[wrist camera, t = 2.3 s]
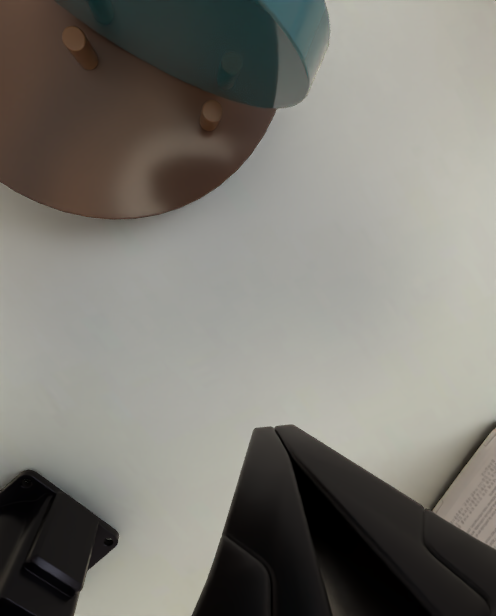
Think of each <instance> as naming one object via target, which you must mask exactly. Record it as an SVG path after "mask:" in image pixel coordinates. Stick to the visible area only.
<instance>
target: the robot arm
mask: <svg viewBox="0 0 496 616" xmlns="http://www.w3.org/2000/svg"><path fill="white" fill-rule="evenodd" d="M24 479H28V480H30V481H31V482H29V483H28V482H26V481H25V480H24ZM107 538H111V540H107ZM118 539H119V533H118V532H117V531H116V530H115V529H114V528H112V527H111V526H110V525H108V524H107V523H105V522H104V521H103V520H101V519H100V518H99V517H97V516H96V515H95V514H93V513H92V512H91V511H89V510H88V509H86V508H85V507H84V506H82V505H81V504H80V503H78V502H77V501H75V500H74V499H73V498H71V497H70V496H69V495H67V494H66V493H64V492H63V491H62V490H60V489H59V488H57V487H56V486H55V485H53V484H52V483H51V482H49V481H48V480H46V479H45V478H44V477H42V476H41V475H40V474H38V473H37V472H35V471H33V470H25V471H23V472H21V473H20V474H19V475H18V476H17V477H16V478H14V479H13V480H12V481H11V482H10V483H9V484H8V485H7V486H5V487H4V488H3V489H2V490H1V491H0V616H74V613H75V609H76V605H77V601H78V597H79V593H80V591H81V590H82V588H83V585H84V581H85V577H86V573H87V571H88V570H89V569H90V568H91V567H92V566H93V565H95V564H96V563H97V562H98V561H99V560H100V559H102V558H103V557H104V556H105V555H106V554H108V553H109V552H110V551H111V550H112V549H113V548H115V547H116V545H117V544H118ZM192 616H496V549H494V548H492V547H491V546H489V545H487V544H485V543H483V542H482V541H480V540H478V539H476V538H475V537H473V536H471V535H470V534H468V533H466V532H465V531H463V530H461V529H460V528H458V527H456V526H455V525H453V524H451V523H450V522H448V521H446V520H445V519H443V518H442V517H440V516H438V515H437V514H435V513H434V512H432V511H430V510H429V509H425V510H424V507H423V506H422V505H421V504H419V503H417V502H416V501H414V500H413V499H411V498H409V497H408V496H406V495H405V494H403V493H401V492H400V491H398V490H397V489H395V488H393V487H392V486H390V485H389V484H387V483H386V482H384V481H382V480H381V479H379V478H378V477H376V476H374V475H373V474H371V473H370V472H368V471H366V470H365V469H363V468H362V467H360V466H358V465H357V464H355V463H354V462H352V461H350V460H349V459H347V458H346V457H344V456H343V455H341V454H339V453H338V452H336V451H335V450H333V449H331V448H330V447H328V446H327V445H325V444H323V443H322V442H320V441H319V440H317V439H315V438H314V437H312V436H311V435H309V434H307V433H306V432H304V431H303V430H301V429H299V428H298V427H296V426H295V425H281V426H276V427H275V428H273V427H260V428H255V429H254V430H253V433H252V436H251V440H250V443H249V446H248V450H247V453H246V456H245V460H244V463H243V466H242V470H241V473H240V476H239V480H238V483H237V486H236V490H235V493H234V496H233V500H232V503H231V506H230V510H229V513H228V516H227V520H226V523H225V526H224V530H223V533H222V537H221V539H220V542H219V545H218V549H217V552H216V555H215V558H214V561H213V564H212V567H211V570H210V573H209V575H208V578H207V581H206V584H205V586H204V588H203V591H202V593H201V595H200V598H199V600H198V602H197V605H196V607H195V609H194V611H193V614H192Z"/></svg>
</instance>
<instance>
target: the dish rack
mask: <svg viewBox="0 0 496 616" xmlns="http://www.w3.org/2000/svg"><path fill="white" fill-rule="evenodd" d="M329 38H330V23H329V14H328V11H327V7H326V4H325V0H0V182H1V183H3V184H4V185H6V186H8V187H9V188H11V189H12V190H14V191H15V192H17V193H19V194H21V195H23V196H25V197H28V198H30V199H32V200H34V201H36V202H38V203H40V204H43V205H46V206H48V207H51V208H54V209H57V210H60V211H63V212H67V213H71V214H76V215H80V216H85V217H91V218H102V219H136V218H142V217H148V216H154V215H159V214H162V213H165V212H169V211H172V210H175V209H178V208H181V207H183V206H185V205H187V204H189V203H191V202H193V201H196V200H198V199H200V198H201V197H203V196H205V195H206V194H208V193H209V192H211V191H212V190H214V189H215V188H217V187H218V186H220V185H221V184H222V183H223V182H224V181H225V180H227V179H228V178H229V177H230V176H231V175H232V174H233V173H235V172H236V171H237V170H238V168H239V167H240V166H241V165H242V164H243V163H244V162H245V161H246V159H247V158H248V157H249V156H250V155H251V154H252V152H253V151H254V149H255V148H256V146H257V145H258V143H259V142H260V140H261V139H262V137H263V136H264V134H265V132H266V130H267V128H268V126H269V124H270V122H271V120H272V118H273V116H274V114H275V112H276V109H279V108H288V107H292V106H295V105H297V104H298V103H300V102H302V101H303V99H304V98H305V97H306V96H307V95H308V92H309V90H310V88H311V85H312V83H313V81H314V79H315V76H316V74H317V72H318V70H319V67H320V65H321V63H322V60H323V58H324V56H325V53H326V51H327V48H328V46H329Z"/></svg>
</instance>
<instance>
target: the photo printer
mask: <svg viewBox="0 0 496 616" xmlns="http://www.w3.org/2000/svg"><path fill="white" fill-rule="evenodd" d="M432 512H434V513H435V514H437V515H438V516H440V517H442V518H443V519H445V520H446V521H448V522H450V523H451V524H453V525H455V526H456V527H458V528H460V529H461V530H463V531H465V532H466V533H468V534H470V535H471V536H473V537H475V538H476V539H478V540H480V541H482V542H483V543H485V544H487V545H489V546H491V547H492V548H494V549H496V428H495V429H494V430H493V431H492V432H491V433H490V434H489V436H488V437H487V438H486V439H485V440H484V442H483V443H482V445H481V446H480V447H479V448H478V450H477V451H476V452H475V454H474V455H473V456H472V458H471V459H470V460H469V462H468V463H467V464H466V466H465V467H464V468H463V470H462V471H461V472H460V474H459V475H458V476H457V478H456V479H455V480H454V482H453V483H452V485H451V486H450V487H449V489H448V490H447V491H446V493H445V494H444V495H443V497H442V498H441V499H440V500H439V502H438V503H437V505H436V506H435V508H434V509H433V510H432Z"/></svg>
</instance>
